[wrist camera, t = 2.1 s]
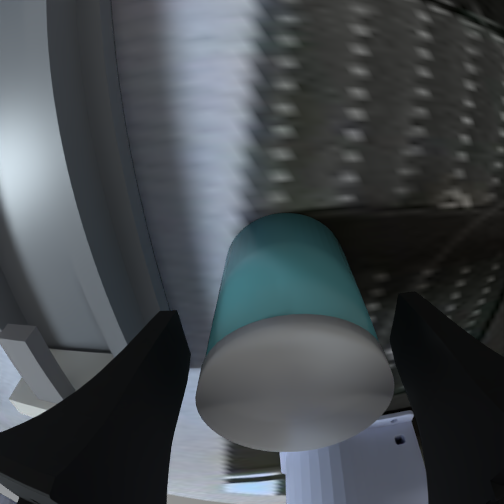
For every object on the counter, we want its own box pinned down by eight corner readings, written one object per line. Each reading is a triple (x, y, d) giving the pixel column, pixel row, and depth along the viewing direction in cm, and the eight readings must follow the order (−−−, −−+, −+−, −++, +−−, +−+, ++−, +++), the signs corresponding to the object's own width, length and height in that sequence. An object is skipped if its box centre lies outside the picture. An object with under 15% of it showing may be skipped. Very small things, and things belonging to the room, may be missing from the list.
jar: (346, 207, 12) (413, 325, 6) (342, 311, 15) (375, 441, 8) (215, 217, 13) (172, 343, 7) (233, 319, 15) (216, 453, 9)
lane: (109, -69, 7) (61, -104, 3) (189, 369, 17) (175, 428, 13) (-52, 31, 8) (-102, 36, 4) (41, 358, 18) (16, 400, 14)
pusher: (100, 288, 13) (56, 355, 9) (136, 370, 15) (112, 435, 12) (10, 290, 13) (-33, 340, 10) (49, 362, 16) (20, 413, 12)
